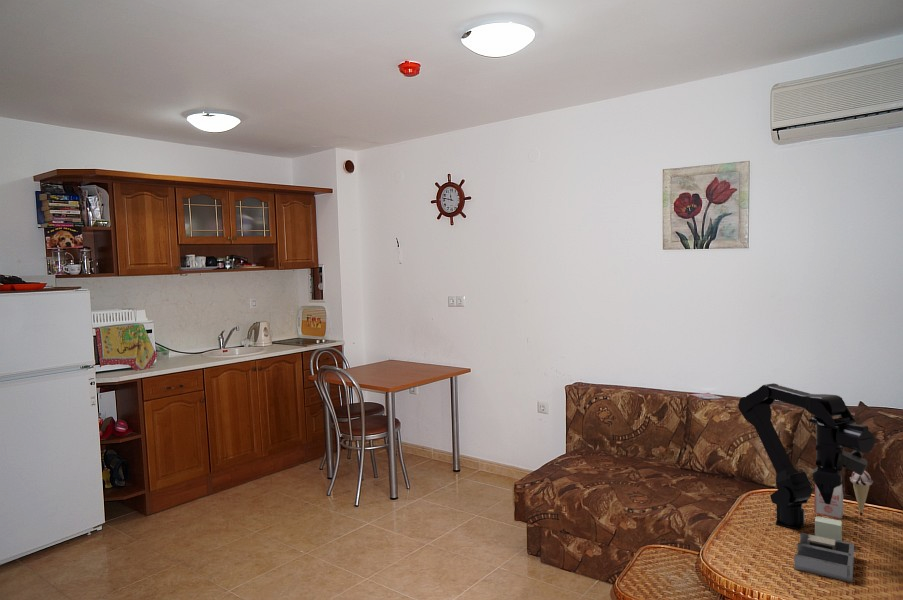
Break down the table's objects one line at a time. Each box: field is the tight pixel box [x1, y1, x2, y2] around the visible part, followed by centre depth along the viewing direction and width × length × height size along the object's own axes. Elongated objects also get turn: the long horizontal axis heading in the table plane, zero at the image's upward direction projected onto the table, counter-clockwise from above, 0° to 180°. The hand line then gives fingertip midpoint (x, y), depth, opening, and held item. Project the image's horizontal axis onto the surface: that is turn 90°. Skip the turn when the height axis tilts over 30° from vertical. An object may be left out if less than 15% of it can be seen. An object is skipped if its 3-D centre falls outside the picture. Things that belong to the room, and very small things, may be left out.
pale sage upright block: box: [814, 515, 843, 541], centre depth 159 cm, size 6×4×6 cm, turn 54°
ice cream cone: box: [849, 470, 874, 517], centre depth 172 cm, size 6×6×15 cm
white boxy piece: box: [813, 483, 844, 520], centre depth 175 cm, size 4×7×10 cm, turn 47°
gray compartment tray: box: [793, 532, 855, 583], centre depth 148 cm, size 12×14×4 cm
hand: (828, 497), depth 158 cm, fingers open, 9 cm apart
